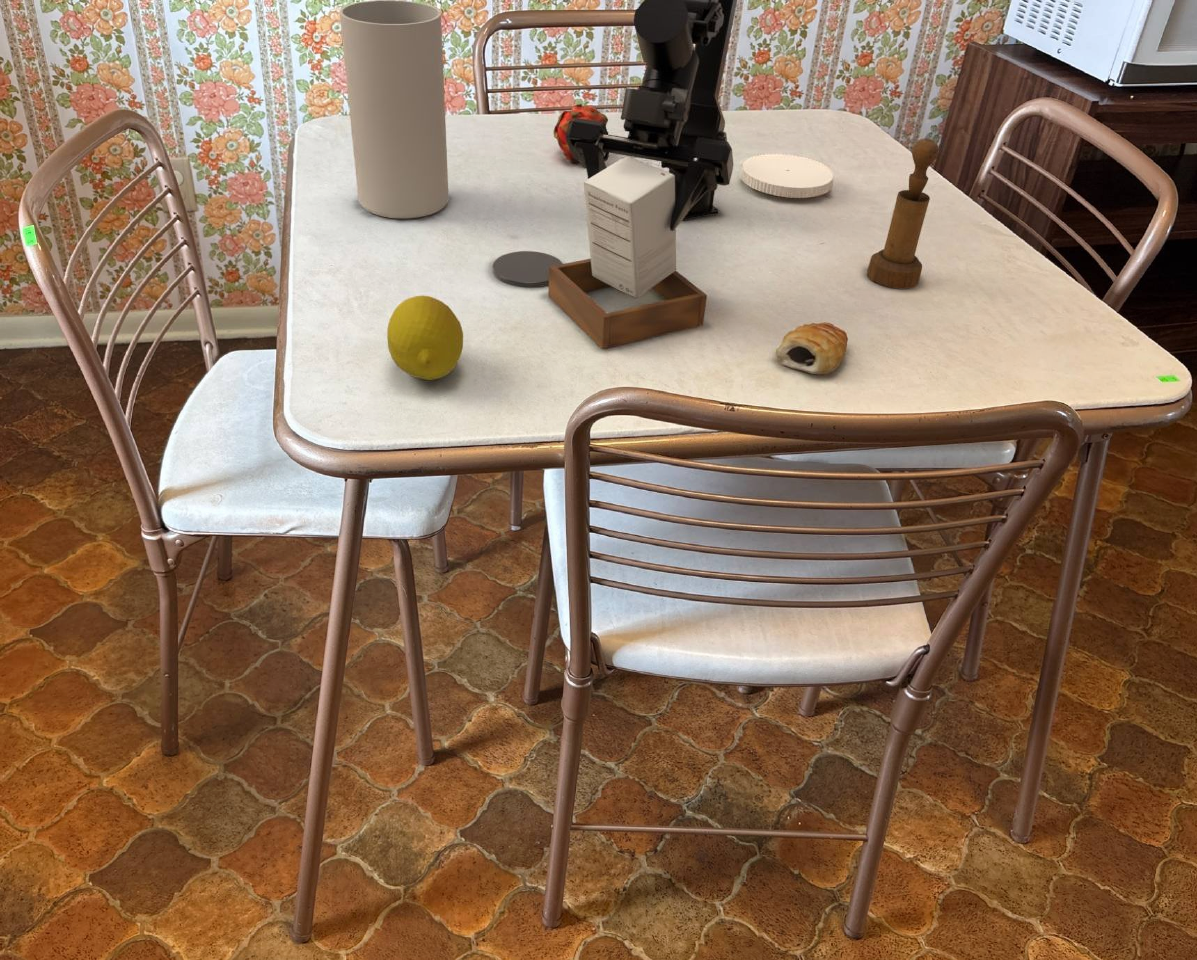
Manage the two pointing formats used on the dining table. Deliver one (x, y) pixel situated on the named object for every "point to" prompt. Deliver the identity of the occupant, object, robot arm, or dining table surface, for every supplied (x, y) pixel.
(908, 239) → the mortar and pestle
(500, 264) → the slate coaster
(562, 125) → the dragon fruit
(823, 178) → the plastic lid
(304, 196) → the dining table surface
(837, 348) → the pastry
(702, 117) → the robot arm
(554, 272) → the brown square shallow frame
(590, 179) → the white packaging box
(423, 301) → the lemon
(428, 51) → the cylinder vase
